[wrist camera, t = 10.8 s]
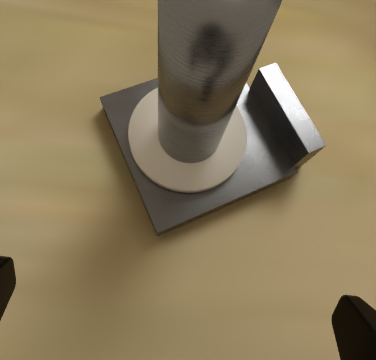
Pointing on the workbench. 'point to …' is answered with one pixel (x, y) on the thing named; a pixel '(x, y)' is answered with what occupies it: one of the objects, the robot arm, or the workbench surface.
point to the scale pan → (175, 170)
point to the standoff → (205, 68)
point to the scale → (252, 160)
